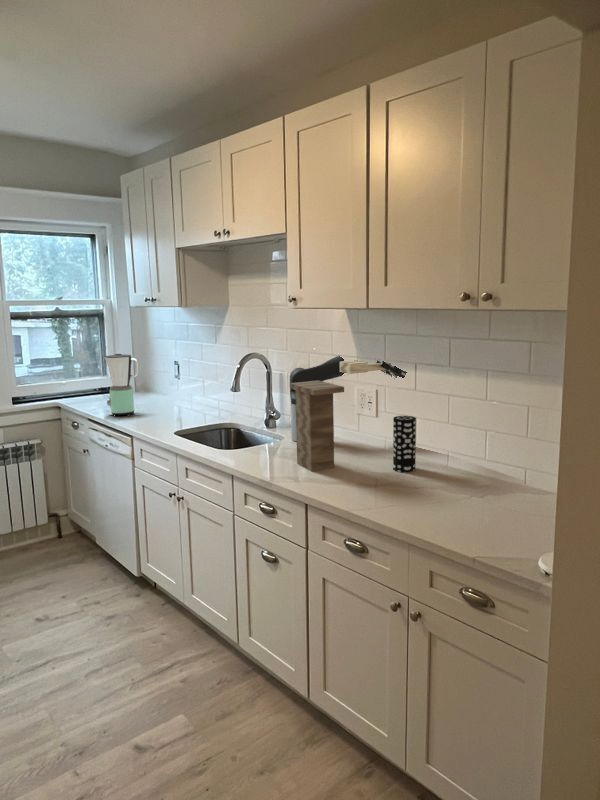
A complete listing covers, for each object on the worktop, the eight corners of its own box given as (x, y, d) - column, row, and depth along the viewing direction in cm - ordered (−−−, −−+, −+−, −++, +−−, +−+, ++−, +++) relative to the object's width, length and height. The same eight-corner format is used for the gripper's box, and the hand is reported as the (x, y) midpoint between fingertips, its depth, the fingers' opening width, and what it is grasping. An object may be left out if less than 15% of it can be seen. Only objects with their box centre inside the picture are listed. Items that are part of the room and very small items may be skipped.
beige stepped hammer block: (339, 371, 238) (339, 361, 238) (383, 367, 248) (383, 357, 247) (350, 373, 231) (350, 363, 231) (394, 369, 241) (394, 359, 240)
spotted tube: (409, 473, 222) (409, 421, 218) (389, 470, 227) (389, 418, 223) (419, 468, 228) (419, 417, 225) (399, 465, 233) (399, 414, 230)
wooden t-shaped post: (291, 461, 241) (289, 383, 236) (319, 456, 247) (318, 380, 241) (315, 474, 224) (313, 390, 218) (345, 469, 230) (344, 386, 224)
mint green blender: (105, 417, 338) (100, 355, 332) (110, 412, 352) (106, 353, 345) (139, 416, 340) (135, 354, 334) (143, 411, 353) (139, 352, 347)
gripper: (401, 370, 256) (372, 353, 248) (422, 374, 244) (392, 356, 235) (394, 386, 256) (365, 369, 247) (415, 391, 243) (385, 373, 235)
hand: (378, 363), depth 241 cm, fingers closed on beige stepped hammer block, 3 cm apart
